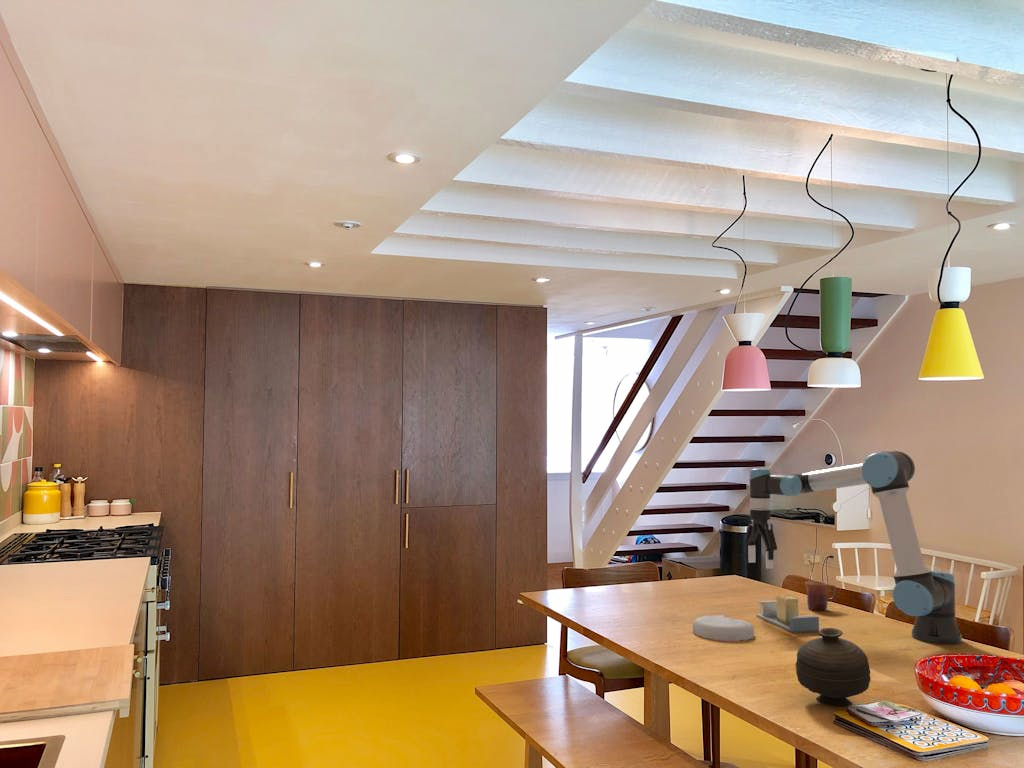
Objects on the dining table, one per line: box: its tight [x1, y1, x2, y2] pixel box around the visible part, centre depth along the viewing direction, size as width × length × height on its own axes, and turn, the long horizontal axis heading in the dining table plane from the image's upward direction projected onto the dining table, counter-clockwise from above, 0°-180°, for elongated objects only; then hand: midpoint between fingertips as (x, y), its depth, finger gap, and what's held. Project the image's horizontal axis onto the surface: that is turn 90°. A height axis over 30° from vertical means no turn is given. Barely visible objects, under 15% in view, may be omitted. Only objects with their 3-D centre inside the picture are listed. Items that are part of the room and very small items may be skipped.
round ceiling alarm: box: [692, 614, 755, 642], centre depth 284 cm, size 25×25×6 cm
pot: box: [794, 627, 871, 708], centre depth 212 cm, size 18×18×20 cm
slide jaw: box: [757, 599, 777, 616], centre depth 310 cm, size 2×9×5 cm, turn 102°
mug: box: [804, 580, 838, 612], centre depth 327 cm, size 12×9×10 cm
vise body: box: [756, 613, 820, 633], centre depth 299 cm, size 25×10×6 cm, turn 12°
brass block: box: [776, 595, 799, 625], centre depth 298 cm, size 6×5×9 cm
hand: (760, 565), depth 317 cm, fingers open, 12 cm apart
